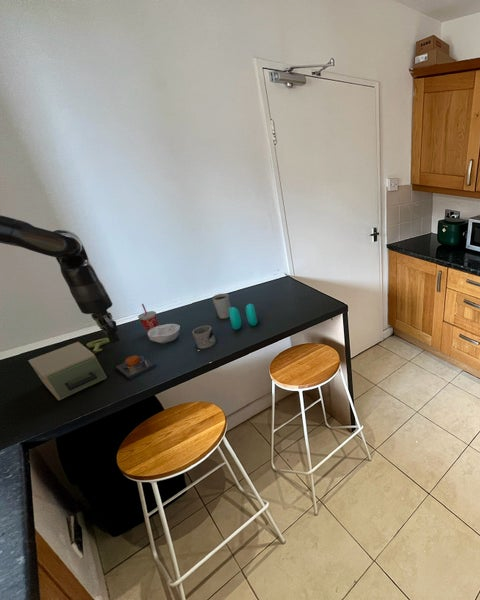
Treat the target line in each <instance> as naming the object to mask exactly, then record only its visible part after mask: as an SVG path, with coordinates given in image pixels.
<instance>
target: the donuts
mask: <svg viewBox="0 0 480 600" xmlns="http://www.w3.org/2000/svg"><path fill="white" fill-rule="evenodd" d="M245 313H246V318H247V321H248V322H247V323H248V324H249V325H250V326H253V327H255V326H257V325H258V324H259V323H258V322H259V321H258V317H257V312H256V307H255V305H254V304H253V303H248V304H247V305H246V306H245ZM229 316H230V317H229V321H230V324H231V327H232V329H234V330H240V328H241V327H242V318H241V314H240V310H239V309H237V308H236V307H234V306H231V308H230V309H229Z"/></svg>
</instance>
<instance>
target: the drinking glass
mask: <svg viewBox="0 0 480 600" xmlns="http://www.w3.org/2000/svg"><path fill="white" fill-rule="evenodd" d="M211 299H212V303H213V305H214V308H215V310H216V313H217V315H218V316H217V317H218V318H219V319H228V318H230V316H229V309H230V308H231V307H232V305H231V301H230V296H229V294H228V293H218V294H214V295H213V296H212V297H211Z"/></svg>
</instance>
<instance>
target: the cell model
mask: <svg viewBox="0 0 480 600" xmlns="http://www.w3.org/2000/svg"><path fill="white" fill-rule="evenodd" d="M180 327H181V326H180V324H176V323H166V324H161V325H159V326H157V327H154V328H152V329H151V330H149V331H148V333H147V336H148V339H149V340H150V341H152V342H154V343H155V342H156V343H158V344H166V343H170V342H173V341H175V340H176V339H178V336H179V334H180Z"/></svg>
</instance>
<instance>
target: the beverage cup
mask: <svg viewBox="0 0 480 600" xmlns="http://www.w3.org/2000/svg"><path fill="white" fill-rule="evenodd" d="M141 306H142V308H143V310H144V312H142V313H140V314H138V316H137V318H138V320H140V322H141V325H142V326H143V328H144V330H145V332H146V333H147V334H148V331H149V330H151V329H152V328H154V327H157V326H160V324H159V320H158V316H157V313H156V311H154V310H150V311H147V309H146V307H145V305H144V303H141Z"/></svg>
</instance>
